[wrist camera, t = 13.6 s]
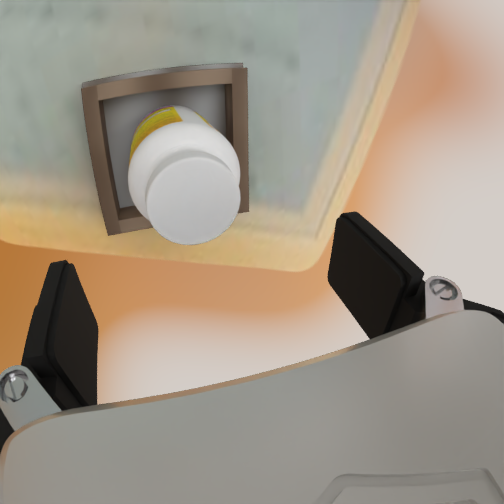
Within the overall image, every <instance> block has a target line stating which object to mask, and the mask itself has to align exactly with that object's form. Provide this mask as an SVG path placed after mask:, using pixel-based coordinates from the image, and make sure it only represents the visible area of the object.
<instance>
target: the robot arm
mask: <svg viewBox="0 0 504 504" xmlns="http://www.w3.org/2000/svg"><path fill="white" fill-rule="evenodd" d="M423 276H424V272H423V271H422V270H421V269H420V268H419V267H418V266H417V265H416V264H415V263H414V262H412V261H411V260H410V259H409V258H408V257H407V256H406V255H405V254H404V253H403V252H402V251H401V250H400V249H398V248H397V247H396V246H395V245H394V244H393V243H392V242H391V241H390V240H389V239H387V238H386V237H385V236H384V235H383V234H382V233H381V232H380V231H379V230H377V229H376V228H375V227H374V226H373V225H372V224H371V223H369V222H368V221H367V220H366V219H365V218H364V217H362V216H361V215H360V214H359V213H357V212H349V213H342V214H341V215H340V218H338V219H337V220H336V226H335V233H334V240H333V246H332V253H331V258H330V264H329V271H328V282H329V284H330V286H331V287H332V288H333V290H334V291H335V292H336V294H337V295H338V296H339V298H340V299H341V300H342V302H343V303H344V304H345V306H346V307H347V308H348V310H349V311H350V312H351V314H352V315H353V317H354V318H355V319H356V320H357V322H358V323H359V325H360V326H361V328H362V329H363V330H364V332H365V333H366V334H367V336H368V337H369V338H370V340H367V341H364V342H361V343H358V344H355V345H353V346H350V347H347V348H344V349H341V350H338V351H335V352H331V353H328V354H325V355H322V356H319V357H315V358H313V359H309V360H306V361H302V362H299V363H296V364H292V365H288V366H285V367H281V368H278V369H274V370H270V371H267V372H263V373H259V374H255V375H252V376H247V377H243V378H239V379H235V380H230V381H226V382H222V383H218V384H213V385H209V386H204V387H199V388H195V389H189V390H184V391H179V392H174V393H168V394H163V395H157V396H151V397H145V398H139V399H133V400H127V401H120V402H114V403H106V404H99V405H97V350H98V325H97V322H96V319H95V317H94V314H93V312H92V310H91V308H90V305H89V303H88V300H87V298H86V295H85V293H84V290H83V288H82V286H81V283H80V281H79V277H78V275H77V272H76V269H75V267H74V265H73V264H72V263H71V264H69V263H68V262H67V261H66V260H64V261H58V262H53V263H51V264H50V266H49V269H48V272H47V275H46V278H45V281H44V284H43V288H42V291H41V294H40V298H39V302H38V305H37V306H36V307H35V309H34V312H33V315H32V319H31V323H30V327H29V331H28V335H27V339H26V344H25V348H24V353H23V357H22V362H21V365H16V366H12V367H9V368H8V369H6V370H4V371H3V372H2V373H1V374H0V504H504V313H503V312H502V311H500V310H497V309H495V308H491V307H488V306H485V305H482V304H478V303H475V302H471V301H468V300H465V299H462V293H461V290H460V289H459V287H458V286H457V285H456V284H455V283H454V282H452V281H451V280H449V279H447V278H444V277H440V276H433V277H430V278H428V279H427V280H426V282H425V281H423V280H422V278H423Z"/></svg>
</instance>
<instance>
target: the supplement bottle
mask: <svg viewBox="0 0 504 504" xmlns="http://www.w3.org/2000/svg"><path fill="white" fill-rule="evenodd" d="M239 182H240V165H239V160H238V157H237V155H236V152H235V150H234V149H233V147H232V145H231V144H230V143H229V141H228V140H227V139H226V138H225V137H224V136H223V135H222V134H221V133H220V132H218V131H217V130H216V129H215V128H214V127H213V126H212V125H211V124H209V123H208V122H207V121H206V120H205V119H204V118H203V117H202V116H201V115H199V114H198V113H197V112H195V111H194V110H192V109H190V108H187V107H184V106H178V105H169V106H164V107H160V108H158V109H156V110H154V111H152V112H150V113H149V114H148V115H146V116H145V117H144V118H143V119H142V120H141V122H140V123H139V124H138V126H137V128H136V130H135V132H134V135H133V138H132V144H131V152H130V160H129V170H128V186H129V192H130V195H131V198H132V200H133V202H134V204H135V206H136V208H137V209H138V210H139V212H140V213H141V214H142V215H143V216H144V217H145V218H146V219H148V220H149V221H150V223H151V224H152V226H153V227H154V229H155V230H156V231H157V232H158V233H159V234H160V235H161V236H162V237H164V238H166V239H167V240H169V241H172V242H174V243H178V244H183V245H196V244H201V243H205V242H208V241H210V240H212V239H215V238H216V237H218V236H219V235H221V234H222V233H223V232H224V231H225V230H227V229H228V228H229V226H230V225H231V224H232V222H233V221H234V219H235V217H236V215H237V213H238V210H239V206H240V189H239Z"/></svg>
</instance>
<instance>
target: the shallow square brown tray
mask: <svg viewBox="0 0 504 504" xmlns="http://www.w3.org/2000/svg"><path fill="white" fill-rule="evenodd" d="M81 92H82V100H83V109H84V116H85V124H86V130H87V137H88V143H89V149H90V155H91V160H92V166H93V171H94V176H95V181H96V186H97V191H98V195H99V200H100V204H101V209H102V213H103V217H104V221H105V225H106V229H107V233H108V236H110V235H115V234H120V233H125V232H131V231H136V230H142V229H147V228H153V226H152V224H151V223H150V221H149V220H148V219H146V218H145V217H144V216H143V215H142V214H141V213H140V212H139V210H138V209H137V208H136V206H135V204H134V202H133V200H132V198H131V195H130V192H129V186H128V170H129V160H130V152H131V144H132V138H133V135H134V132H135V130H136V128H137V126H138V124H139V123H140V122H141V120H142V119H143V118H144V117H145V116H146V115H148V114H149V113H150V112H152V111H154V110H156V109H158V108H160V107H164V106H169V105H178V106H184V107H187V108H190V109H192V110H194V111H195V112H197V113H198V114H199V115H201V116H202V117H203V118H204V119H205V120H206V121H207V122H208V123H209V124H211V125H212V126H213V127H214V128H215V129H216V130H217V131H218V132H220V133H221V134H222V135H223V136H224V137H225V138H226V139H227V140H228V141H229V143H230V144H231V145H232V147H233V149H234V150H235V152H236V155H237V157H238V160H239V165H240V182H239V189H240V206H239V210H238V213H243V212H249V173H248V85H247V68H243V63H224V64H206V65H193V66H182V67H172V68H163V69H155V70H148V71H141V72H135V73H129V74H123V75H117V76H112V77H107V78H102V79H97V80H93V81H88V82H84V83H82V89H81Z"/></svg>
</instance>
